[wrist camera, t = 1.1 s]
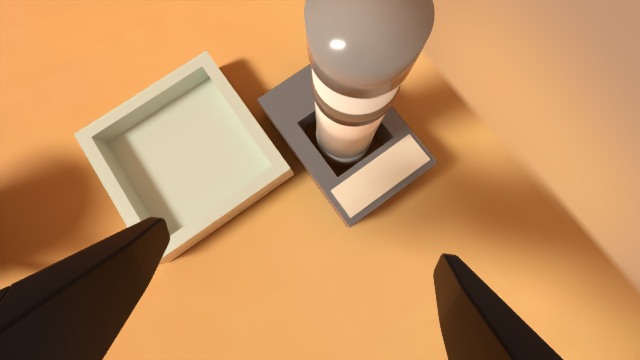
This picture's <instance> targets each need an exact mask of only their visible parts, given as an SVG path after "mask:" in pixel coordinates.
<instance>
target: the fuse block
mask: <svg viewBox="0 0 640 360" xmlns="http://www.w3.org/2000/svg"><path fill="white" fill-rule="evenodd" d="M311 71H312V67H311V64H309V65H308V66H306V67H305V68H303V69H302V70H300V71H299V72H297V73H296V74H294V75H293V76H291V77H290V78H288V79H287V80H285V81H284V82H282V83H281V84H279V85H278V86H276V87H275V88H273V89H272V90H270V91H269V92H267V93H266V94H264V95H262V96H261V97H259V98H258V99H257V100H258V102H259V104H260V106H261V108H262V110H263V111H264V113H265V115H266V116H267V117H268V119H269V120H270V121H271V123H272V124H273V126H274V127H275V128H276V130H277V131H278V132H279V134H280V135H281V137H282V138H283V139H284V141H285V142H286V143H287V145H288V146H289V148H290V149H291V150H292V152H293V153H294V154H295V156H296V157H297V159H298V160H299V161H300V163H301V164H302V165H303V167H304V168H305V170H306V171H307V172H308V174H309V175H310V176H311V178H312V179H313V181H314V182H315V183H316V185H317V186H318V188H319V189H320V190H321V192H322V193H323V194H324V196H325V197H326V199H327V200H328V201H329V203H330V204H331V205H332V207H333V208H334V210H335V211H336V212H337V214H338V215H339V216H340V218H341V219H342V221H343V222H344V223H345V225H346V226H347V227H351V226H353V225H354V224H355V223H357V222H358V221H359V220H361V219H362V218H363V217H365V216H366V215H367V214H369V213H370V212H372V211H373V210H374V209H376V208H377V207H378V206H380V205H381V204H382V203H384V202H385V201H386V200H388V199H389V198H391V197H392V196H393V195H395V194H396V193H397V192H399V191H400V190H401V189H403V188H404V187H405V186H407V185H408V184H410V183H411V182H412V181H414V180H415V179H416V178H418V177H419V176H420V175H422V174H423V173H424V172H426V171H427V170H429V169H430V168H431V167H433V166H434V165H435V164H437V163H438V162H437V161H436V159H435V158H434V157H433V156H432V154H431V153H430V152H429V151H428V150H427V148H426V147H425V146H424V145H423V144H422V142H421V141H420V140H419V139H418V137H417V136H416V135H415V134H414V133H413V131H412V130H411V129H410V128H409V127H408V125H407V124H406V123H405V122H404V120H403V119H402V118H401V117H400V116H399V114H398V113H397V112H396V111H395V109H394V108H393V107H392V106H390V107H389V109H388V110H387V112H386V113H385V115H384V117H383V119H382V121H381V123H380V125H379V126H378V128H377V130H376V132H375V133H376V134H377V136H378V137H379V138H380V139H381V141H382V142H383V143H384V145H382V146H381V147H380V148H378V149H377V150H375V151H374V152H373V153H371V154H370V155H368V156H367V157H366V158H364V159H363V160H361V161H360V162H359V163H357V164H356V165H354V166H353V167H352V168H350V169H349V170H347V171H346V172H345V173H343V174H342V175H340V176H339V177H337V176H336V175H335V173H334V172H333V171H332V169H331V168H330V166H329V165H328V164H327V162H326V161H325V160H324V158H323V157H322V156H321V154H320V153H319V152H318V150H317V149H316V148H315V146H314V145H313V144H312V142H311V141H310V140H309V138H308V137H307V136H306V134H305V133H304V132H303V131H305V130H306V129H308V128H309V127H311V126H312V125H314V124H315V123H316V112H315V100H314V96H313V88H312V76H311Z"/></svg>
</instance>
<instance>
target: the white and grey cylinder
mask: <svg viewBox="0 0 640 360" xmlns="http://www.w3.org/2000/svg"><path fill="white" fill-rule="evenodd" d="M304 15H305V27H306V37H307V47H308V56H309V61H310V64H311V67H312V71H311V76H312V88H313V96H314V100H315V112H316V124H317V128H316V139H317V146H318V150H319V152H320V153H321V155H322V156H323V157H324V158H325V159H326V160H327V161H328V162H330V163H332V164H334V165H338V166H348V165H352V164H354V163H356V162H358V161H359V160H361V159H362V158H363V157H364V155H365V154H366V152H367V150H368V148H369V146H370V145H371V142H372V139H373V136H374V134H375V132H376V130H377V128H378V126H379V125H380V123H381V121H382V119H383V117H384V115H385V113H386V112H387V110H388V109H389V107H390V106H391V104H392V102H393V100H394V98H395V96H396V94H397V92H398V90H399V88H400V85H401V83H402V82H403V81H404V80H405V79H406V77H407V76H408V74H409V73H410V71H411V69H412V67H413V65H414V63H415V62H416V60H417V58H418V56H419V54H420V52H421V50H422V49H423V47H424V45H425V43H426V41H427V39H428V37H429V35H430V33H431V30H432V27H433V23H434V5H433V1H432V0H306V2H305V9H304Z"/></svg>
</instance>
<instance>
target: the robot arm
mask: <svg viewBox="0 0 640 360" xmlns="http://www.w3.org/2000/svg"><path fill="white" fill-rule="evenodd" d="M169 242H170V234H169V230H168V227H167V224H166V221H165V219H164V218H160V217H148V218H146V219H144V220H142V221H140V222H138V223H136V224H134V225H132V226H130V227H128V228H126V229H124V230H122V231H120V232H118V233H116V234H114V235H112V236H110V237H107V238H105V239H103V240H101V241H99V242H97V243H95V244H93V245H91V246H89V247H87V248H85V249H83V250H81V251H79V252H77V253H75V254H73V255H71V256H69V257H67V258H64V259H62V260H60V261H58V262H56V263H54V264H52V265H50V266H48V267H46V268H44V269H42V270H40V271H38V272H36V273H34V274H32V275H30V276H28V277H26V278H24V279H21V280H19V281H17V282H15V283H13V284H12V285H11V286H7V287H5V288H3V289H1V290H0V360H102V359H103V358H104V356H105V355H106V353H107V351H108V350H109V348H110V347H111V345H112V343H113V342H114V340H115V338H116V337H117V335H118V334H119V332H120V330H121V329H122V327H123V326H124V324H125V322H126V321H127V319H128V317H129V316H130V314H131V313H132V311H133V309H134V308H135V306H136V305H137V303H138V301H139V300H140V298H141V297H142V295H143V293H144V292H145V290H146V288H147V287H148V285H149V283H150V281H151V279H152V277H153V275H154V273H155V271H156V269H157V267H158V265H159V263H160V261H161V259H162V257H163V255H164V253H165V251H166V248H167V246H168V244H169ZM433 278H434V285H435V293H436V300H437V308H438V315H439V322H440V327H441V332H442V336H443V340H444V344H445V348H446V352H447V356H448V360H563V359H562V358H561V357H560V356H559V355H558V354H557V353H556V352H555V351H554V350H553V349H552V348H551V347H550V346H549V345H548V344H547V343H546V342H545V341H544V340H543V339H542V338H541V337H540V336H539V335H538V334H537V333H536V332H535V331H534V330H533V329H532V328H531V327H530V326H528V325H527V324H526V323H525V322H524V321H523V320H522V319H521V318H520V317H519V316H518V315H517V314H516V313H515V312H514V311H513V310H512V309H511V308H510V307H509V306H508V305H507V304H506V303H505V302H504V301H503V300H502V299H501V298H500V297H499V296H498V295H497V294H496V293H495V292H494V291H493V290H492V289H491V288H490V287H489V286H488V285H487V284H486V283H485V282H484V281H483V280H481V279H480V278H479V277H478V276H477V275H476V274H475V273H474V272H473V271H472V270H471V269H470V268H469V267H468V266H467V265H466V264H465V263H464V262H463V261H462V260H461V259H460V258H459V257H458V256H456V255H453V254H442V255H441V256H440V258H439V261H438V263H437V265H436V267H435V270H434V274H433Z"/></svg>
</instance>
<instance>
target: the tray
mask: <svg viewBox="0 0 640 360" xmlns="http://www.w3.org/2000/svg"><path fill="white" fill-rule="evenodd" d="M74 136H75V137H76V139H77V141H78V143H79V144H80V146H81V148H82V149H83V151H84V153H85V155H86V156H87V158H88V160H89V162H90V163H91V165H92V167H93V168H94V170H95V172H96V174H97V175H98V177H99V179H100V181H101V182H102V184H103V186H104V187H105V189H106V191H107V193H108V194H109V196H110V198H111V200H112V201H113V203H114V205H115V206H116V208H117V210H118V212H119V213H120V215H121V217H122V219H123V220H124V222H125V224H126V225H127V227H130V226H132V225H134V224H136V223H138V222H140V221H142V220H144V219H146V218H148V217H160V218H164V219H165V221H166V224H167V227H168V230H169V234H170V242H169V244H168V246H167V248H166V251H165V253H164V255H163V257H162V259H161V261H160V263H159V264H163V263H168V262H170V261H172V260H173V259H175V258H176V257H177V256H179V255H180V254H182V253H183V252H185V251H186V250H187V249H189V248H190V247H192V246H193V245H195V244H196V243H197V242H199V241H200V240H202V239H203V238H205V237H206V236H207V235H209V234H210V233H212V232H213V231H215V230H216V229H217V228H219V227H220V226H222V225H223V224H225V223H226V222H227V221H229V220H230V219H232V218H233V217H234V216H236V215H237V214H239V213H240V212H242V211H243V210H244V209H246V208H247V207H249V206H250V205H252V204H253V203H254V202H256V201H257V200H259V199H260V198H262V197H263V196H264V195H266V194H267V193H269V192H270V191H272V190H273V189H274V188H276V187H277V186H279V185H280V184H282V183H283V182H284V181H286V180H287V179H289V178H290V177H291V176H293V175H294V173H293V172H292V170H291V168H290V167H289V165H288V164H287V163H286V161H285V160H284V159H283V157H282V156H281V154H280V153H279V152H278V150H277V149H276V147H275V146H274V145H273V143H272V142H271V140H270V139H269V138H268V136H267V135H266V133H265V132H264V131H263V129H262V128H261V126H260V125H259V124H258V122H257V121H256V119H255V118H254V117H253V115H252V114H251V112H250V111H249V110H248V108H247V107H246V105H245V104H244V103H243V101H242V100H241V98H240V97H239V96H238V94H237V93H236V91H235V90H234V89H233V87H232V86H231V84H230V83H229V82H228V80H227V79H226V78H225V76H224V75H223V73H222V72H221V71H220V69H219V68H218V66H217V65H216V64H215V62H214V61H213V59H212V58H211V57H210V55H209V54H208V52H207V51H204V52H203V53H201V54H200V55H198V56H197V57H195V58H193V59H192V60H190V61H189V62H187V63H186V64H184V65H182V66H181V67H179V68H178V69H176V70H174V71H173V72H171V73H170V74H168V75H167V76H165V77H163V78H162V79H160V80H159V81H157V82H156V83H154V84H152V85H151V86H149V87H148V88H146V89H144V90H143V91H141V92H140V93H138V94H137V95H135V96H133V97H132V98H130V99H129V100H127V101H126V102H124V103H122V104H121V105H119V106H118V107H116V108H114V109H113V110H111V111H110V112H108V113H107V114H105V115H103V116H102V117H100V118H99V119H97V120H96V121H94V122H92V123H91V124H89V125H88V126H86V127H84V128H83V129H81V130H80V131H78V132H77V133H75V134H74Z"/></svg>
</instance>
